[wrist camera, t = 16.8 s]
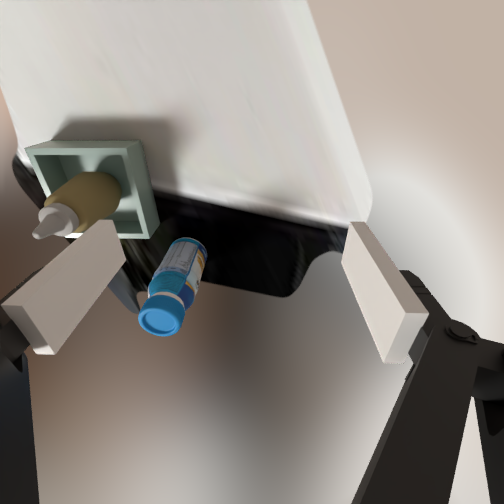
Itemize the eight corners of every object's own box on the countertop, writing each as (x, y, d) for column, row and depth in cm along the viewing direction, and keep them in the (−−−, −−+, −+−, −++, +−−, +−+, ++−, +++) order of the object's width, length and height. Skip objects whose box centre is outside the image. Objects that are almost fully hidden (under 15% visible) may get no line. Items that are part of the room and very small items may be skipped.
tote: (50, 140, 46) (24, 148, 41) (141, 140, 45) (126, 148, 40) (83, 222, 54) (65, 237, 49) (160, 223, 54) (149, 238, 49)
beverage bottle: (186, 228, 54) (152, 294, 38) (216, 253, 58) (197, 325, 41) (161, 251, 58) (121, 321, 41) (191, 273, 61) (164, 347, 44)
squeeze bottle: (80, 160, 46) (-8, 200, 31) (126, 169, 47) (63, 213, 32) (87, 202, 51) (13, 255, 36) (129, 210, 51) (75, 265, 36)
